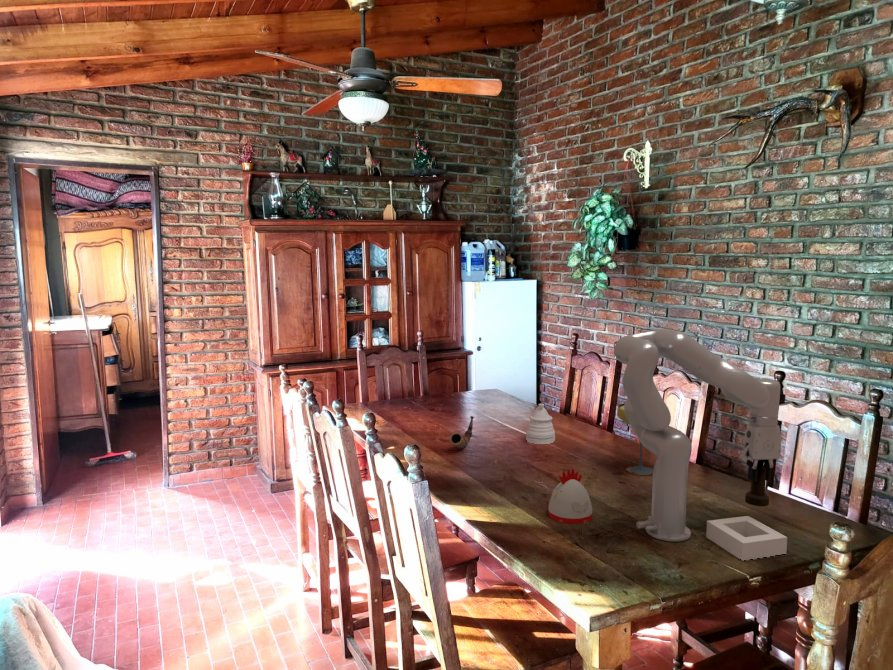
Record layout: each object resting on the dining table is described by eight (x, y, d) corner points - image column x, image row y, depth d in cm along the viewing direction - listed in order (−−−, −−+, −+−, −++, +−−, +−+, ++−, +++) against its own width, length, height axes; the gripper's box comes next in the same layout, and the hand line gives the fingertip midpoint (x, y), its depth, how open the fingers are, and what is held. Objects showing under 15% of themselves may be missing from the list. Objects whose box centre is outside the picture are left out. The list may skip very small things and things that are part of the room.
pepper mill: (748, 497, 192) (752, 440, 190) (771, 502, 188) (776, 444, 186) (742, 502, 187) (747, 445, 185) (765, 508, 183) (771, 449, 181)
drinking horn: (448, 454, 260) (448, 431, 259) (466, 436, 288) (466, 415, 287) (461, 455, 259) (461, 432, 258) (478, 437, 287) (478, 415, 285)
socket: (742, 561, 166) (743, 543, 165) (706, 537, 180) (706, 520, 180) (786, 554, 169) (787, 537, 169) (747, 531, 184) (748, 515, 183)
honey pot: (557, 446, 270) (557, 406, 268) (527, 447, 270) (528, 406, 268) (552, 438, 283) (553, 400, 281) (524, 438, 283) (524, 400, 281)
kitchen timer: (540, 510, 201) (540, 465, 199) (576, 503, 206) (576, 460, 205) (563, 526, 188) (564, 479, 187) (601, 519, 193) (602, 473, 192)
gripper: (748, 424, 179) (743, 486, 181) (796, 422, 183) (791, 482, 185) (730, 418, 186) (726, 477, 188) (777, 416, 191) (772, 474, 193)
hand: (758, 479), depth 187 cm, fingers closed on pepper mill, 3 cm apart
